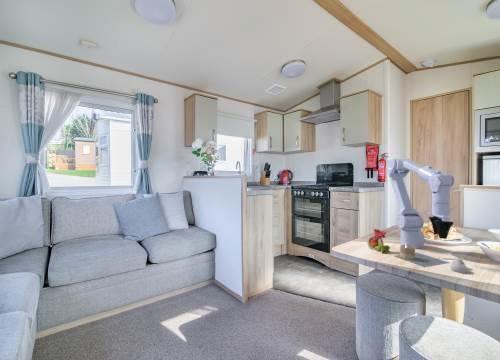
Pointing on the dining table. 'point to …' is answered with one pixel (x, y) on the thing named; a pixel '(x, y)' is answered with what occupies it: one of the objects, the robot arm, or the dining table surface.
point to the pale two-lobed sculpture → (459, 266)
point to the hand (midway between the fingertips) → (440, 236)
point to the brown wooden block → (407, 252)
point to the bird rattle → (374, 242)
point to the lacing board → (424, 260)
